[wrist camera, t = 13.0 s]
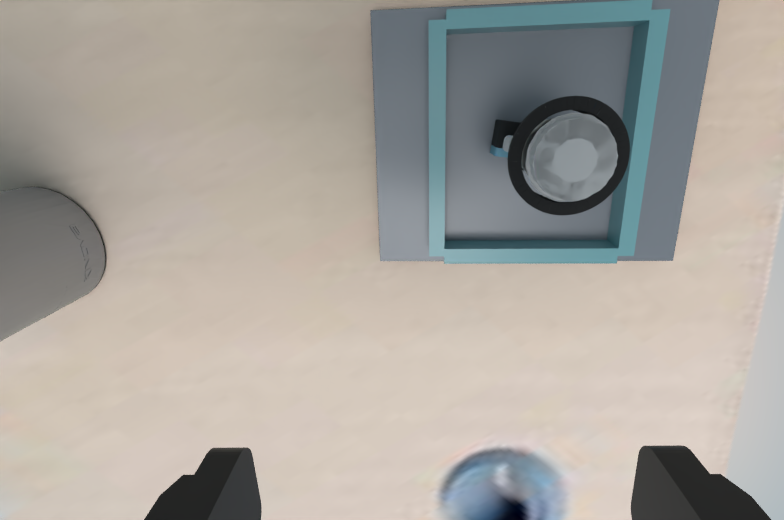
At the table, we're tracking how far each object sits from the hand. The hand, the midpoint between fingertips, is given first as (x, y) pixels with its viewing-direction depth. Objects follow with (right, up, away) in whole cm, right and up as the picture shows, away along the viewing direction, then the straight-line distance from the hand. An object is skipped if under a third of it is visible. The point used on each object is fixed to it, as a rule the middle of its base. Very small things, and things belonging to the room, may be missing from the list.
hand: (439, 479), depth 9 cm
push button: (+8, +12, +20) cm, 25 cm away
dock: (+8, +12, +21) cm, 25 cm away
